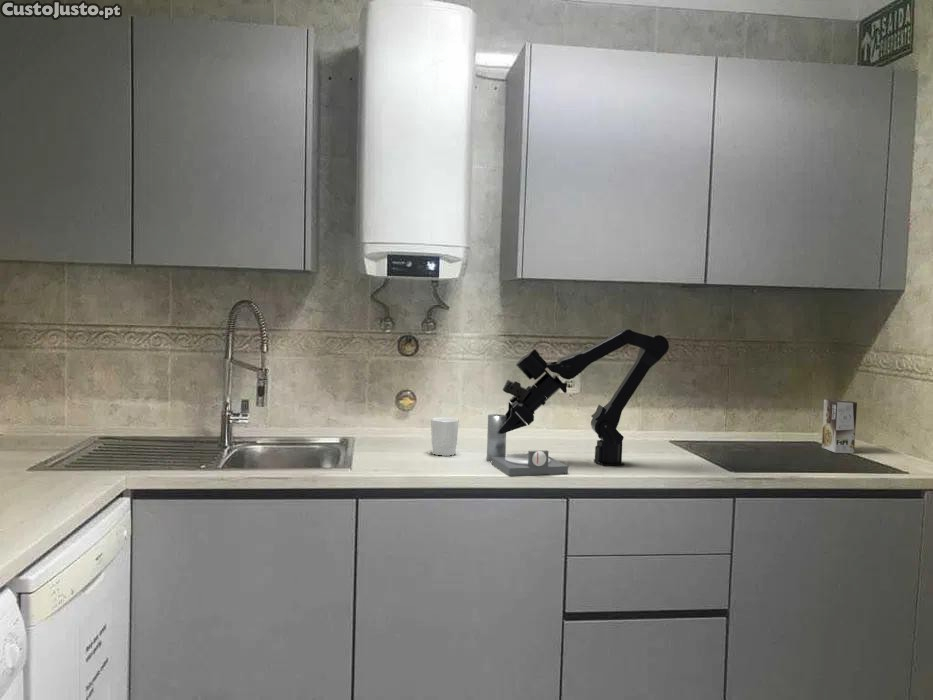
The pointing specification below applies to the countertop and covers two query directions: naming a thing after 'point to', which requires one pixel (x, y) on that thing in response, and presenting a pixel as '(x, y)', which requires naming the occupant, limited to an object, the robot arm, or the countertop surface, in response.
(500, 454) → the metal canister
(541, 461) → the scale
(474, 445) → the countertop surface
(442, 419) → the white cup
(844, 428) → the coffee box
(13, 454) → the countertop surface
